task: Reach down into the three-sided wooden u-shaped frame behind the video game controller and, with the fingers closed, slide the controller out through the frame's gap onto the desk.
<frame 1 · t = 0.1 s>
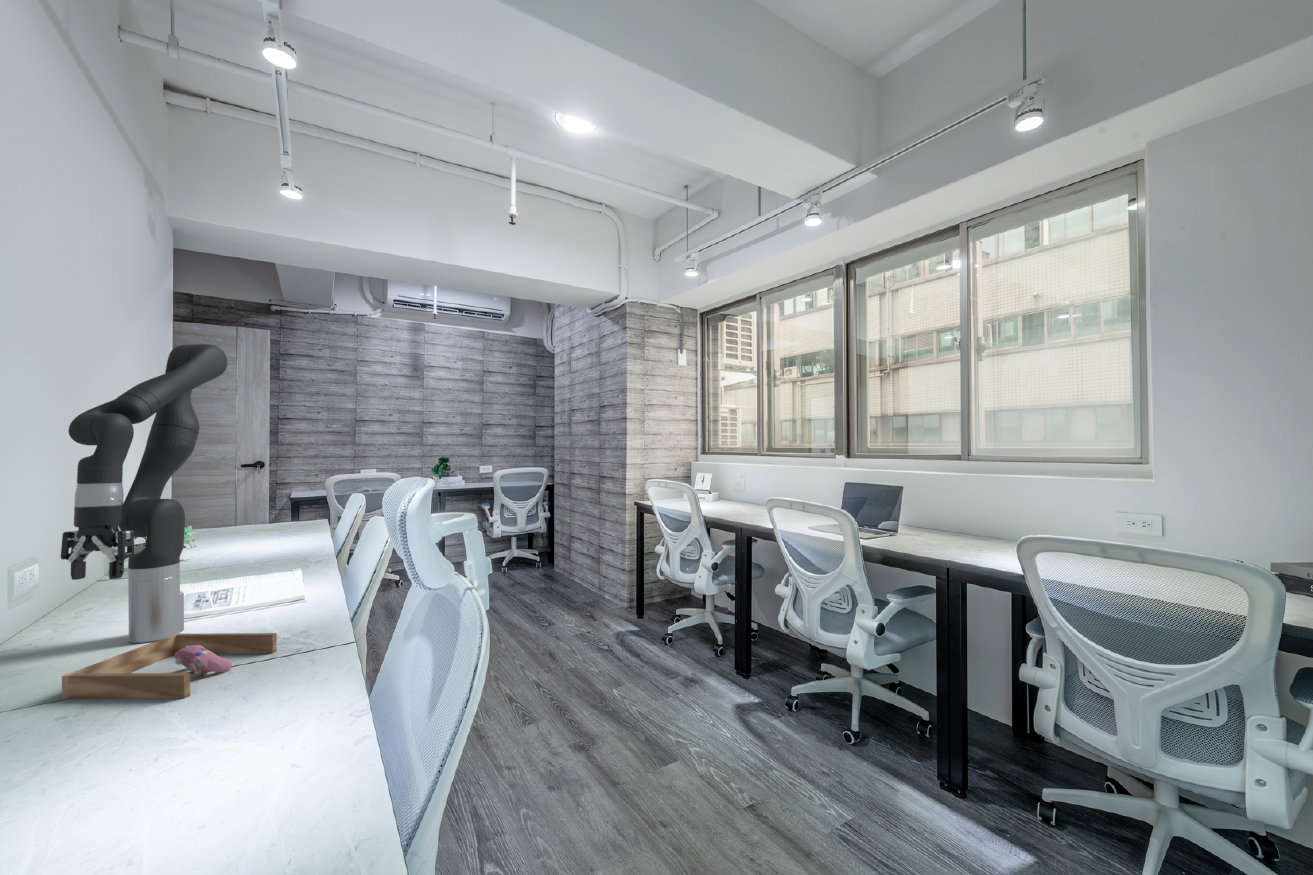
hand: (96, 578, 119), 17 cm above the table, tool pointing down, fingers open, 8 cm apart
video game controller: (202, 673, 110), on the table
wooden u-shaped frame: (179, 672, 110), on the table
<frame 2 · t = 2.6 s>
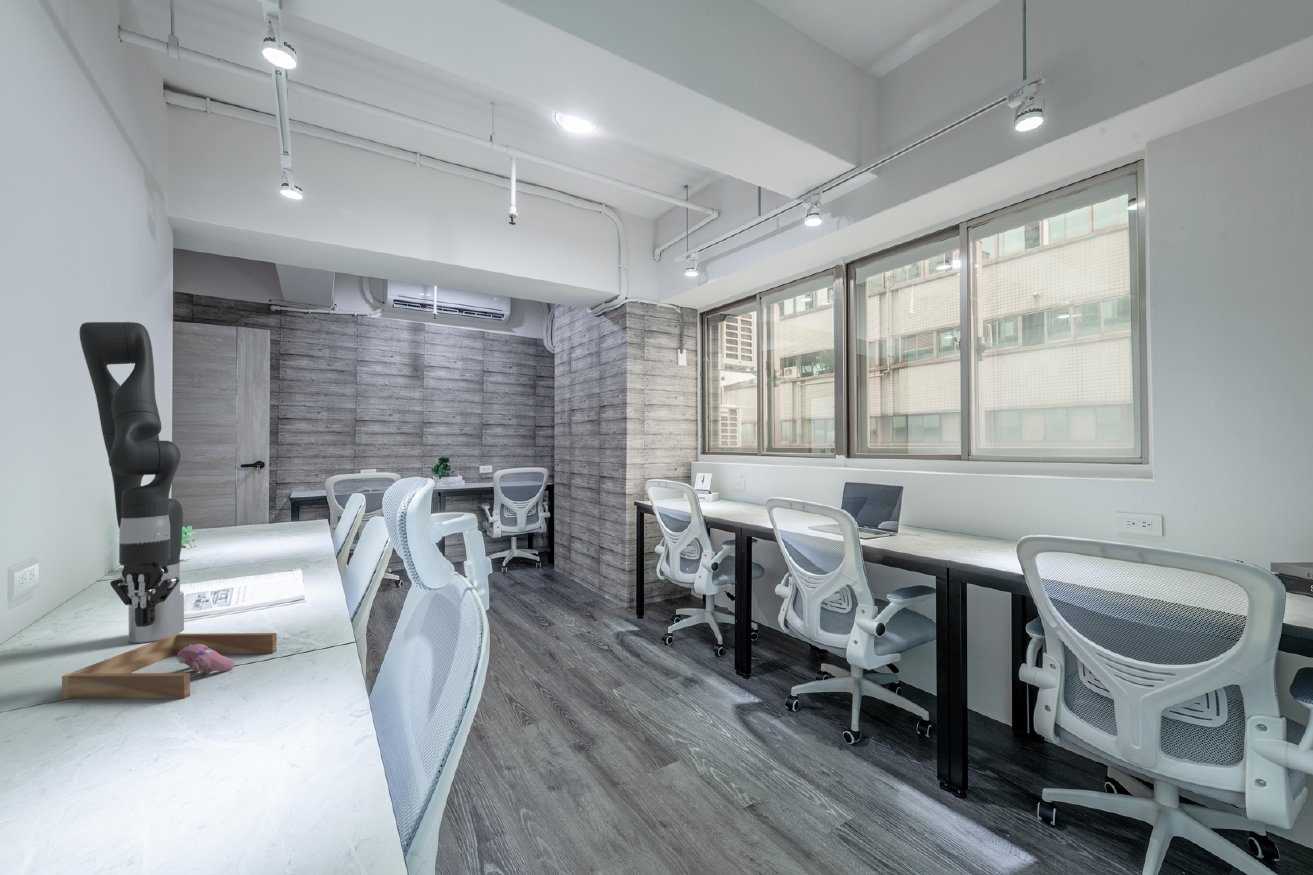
hand: (144, 625, 110), 10 cm above the table, tool pointing down, fingers closed
nothing on the table moved.
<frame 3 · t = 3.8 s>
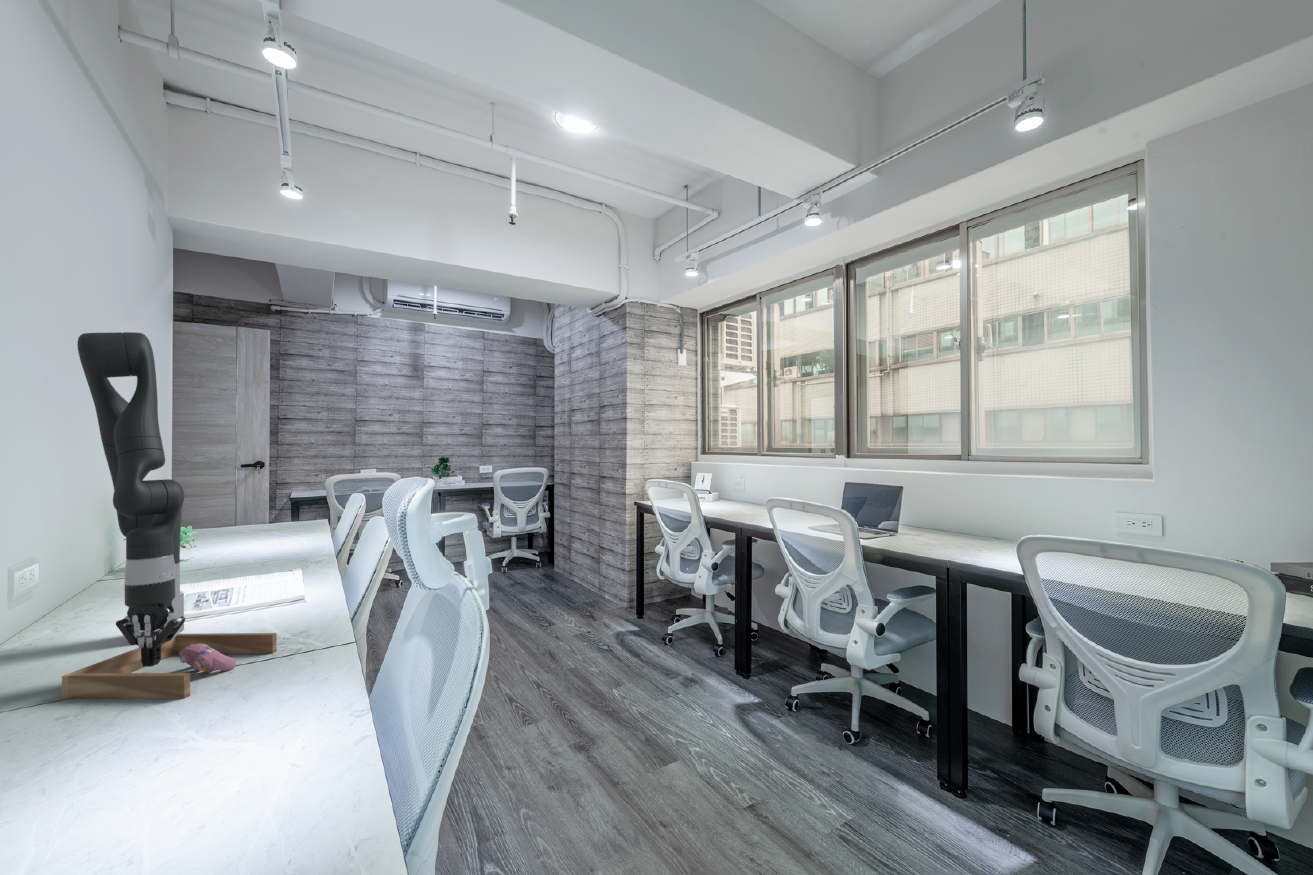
hand: (151, 665, 110), 2 cm above the table, tool pointing down, fingers closed
nothing on the table moved.
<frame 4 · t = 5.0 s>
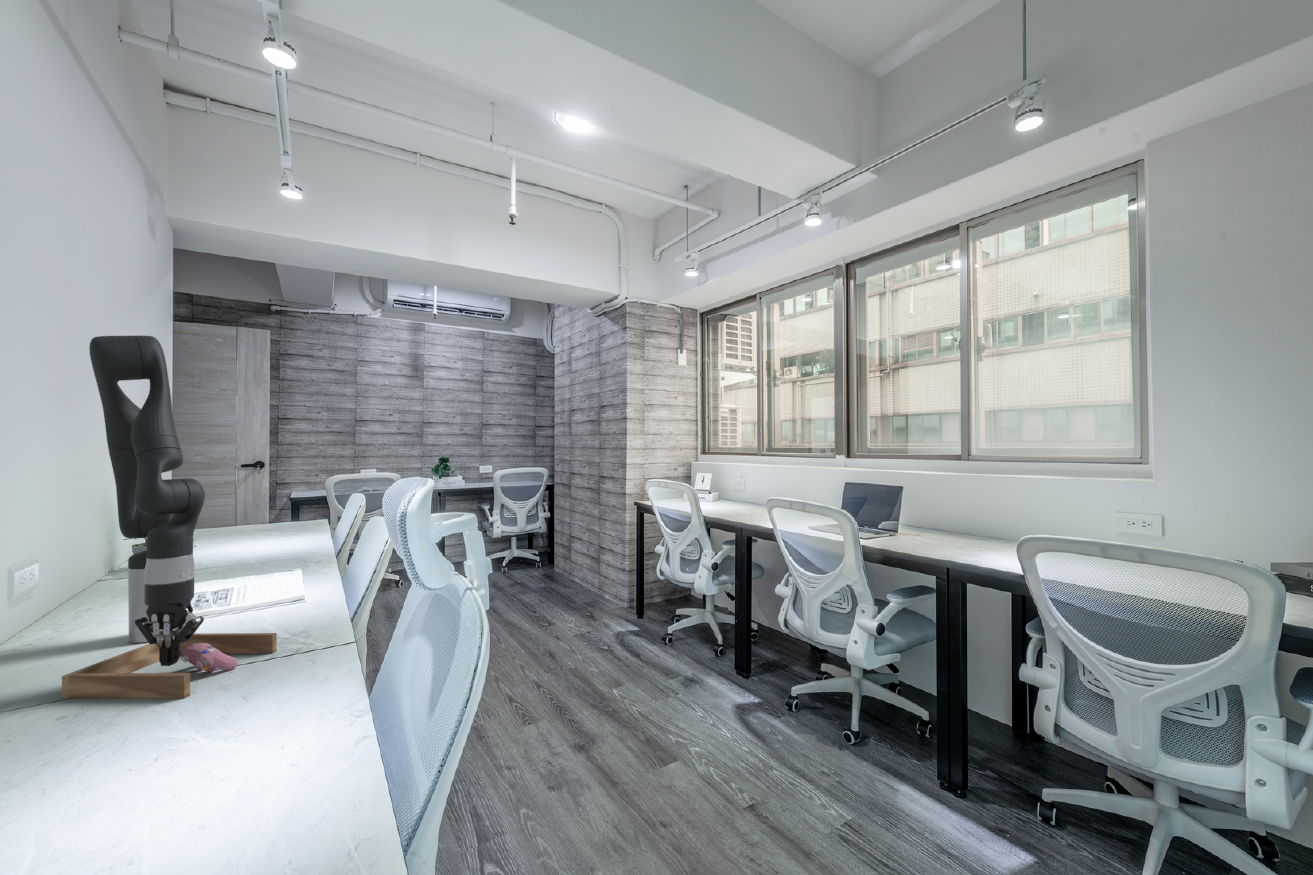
hand: (169, 664, 110), 2 cm above the table, tool pointing down, fingers closed
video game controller: (208, 671, 111), on the table, touching gripper
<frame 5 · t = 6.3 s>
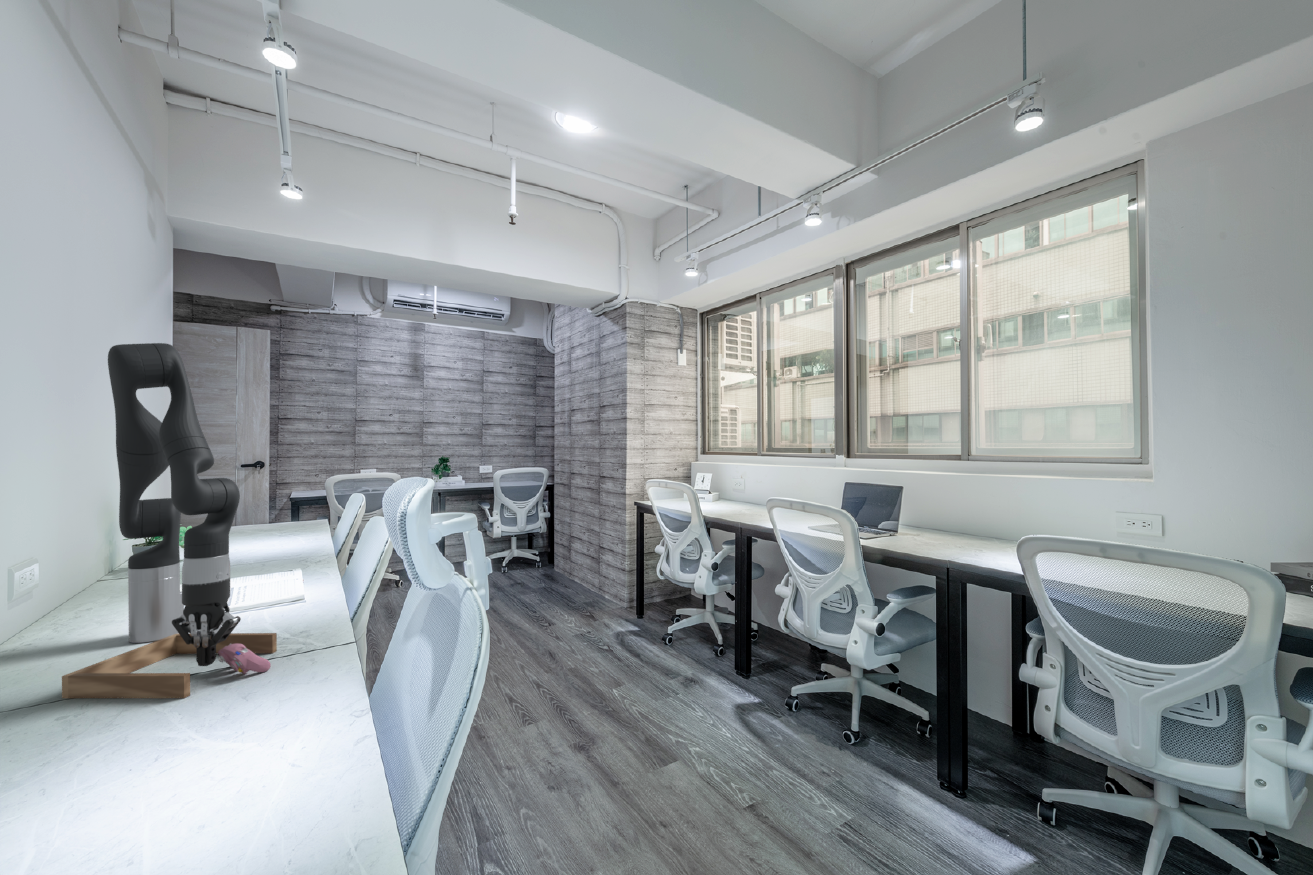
hand: (206, 664, 109), 2 cm above the table, tool pointing down, fingers closed
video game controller: (243, 672, 110), on the table, touching gripper
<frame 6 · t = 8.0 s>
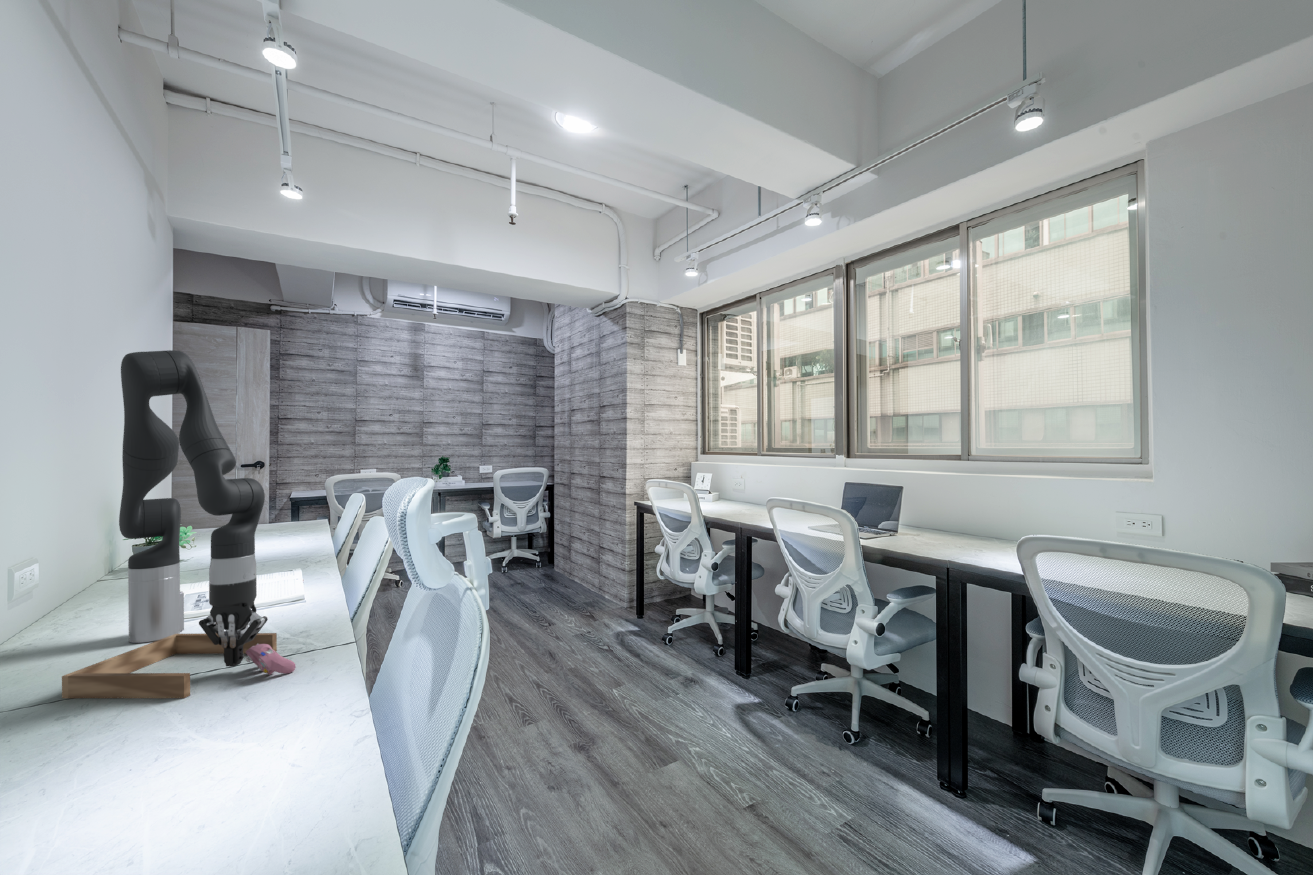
hand: (233, 664, 109), 1 cm above the table, tool pointing down, fingers closed
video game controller: (269, 673, 109), on the table, touching gripper
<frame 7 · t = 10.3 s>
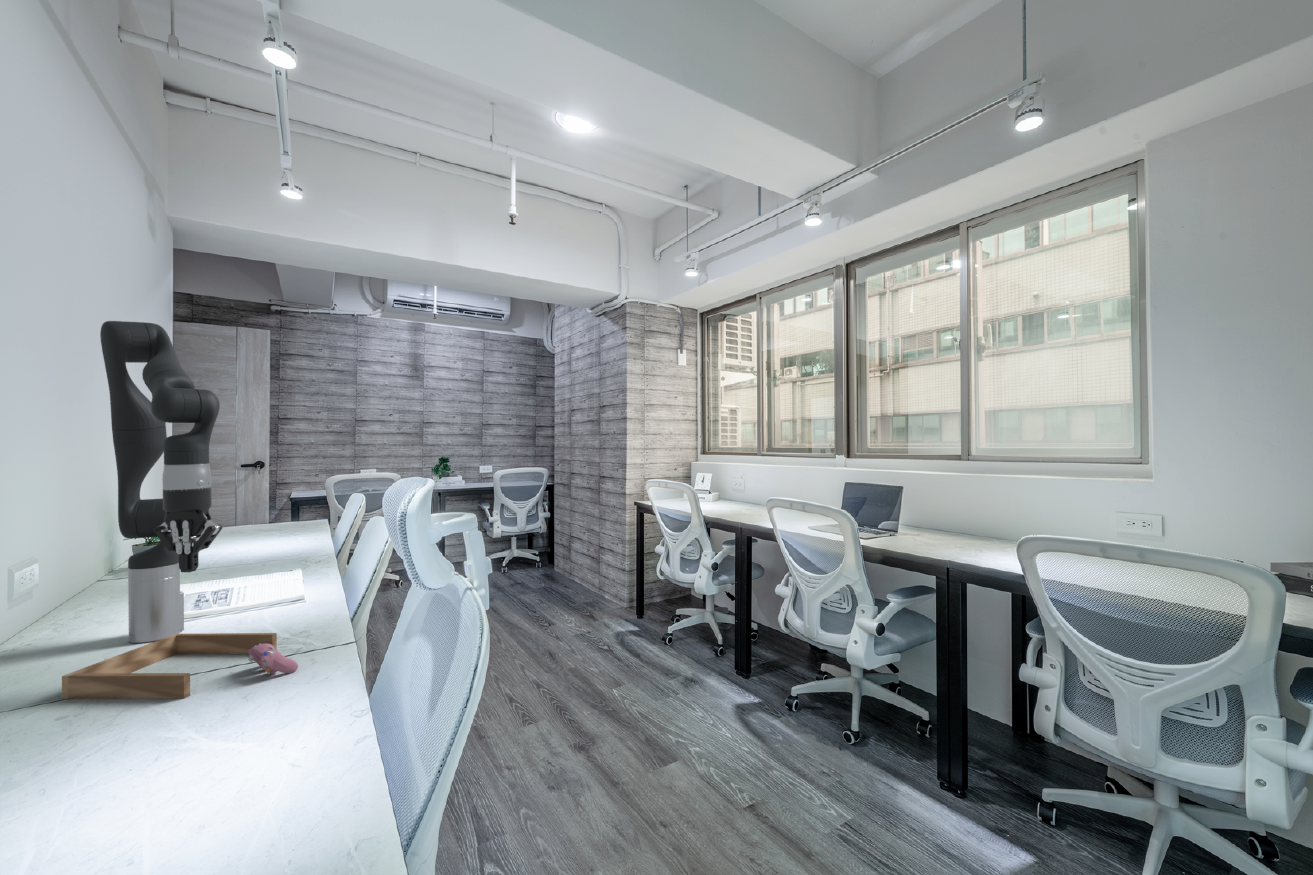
hand: (188, 571, 111), 20 cm above the table, tool pointing down, fingers closed
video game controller: (272, 672, 109), on the table
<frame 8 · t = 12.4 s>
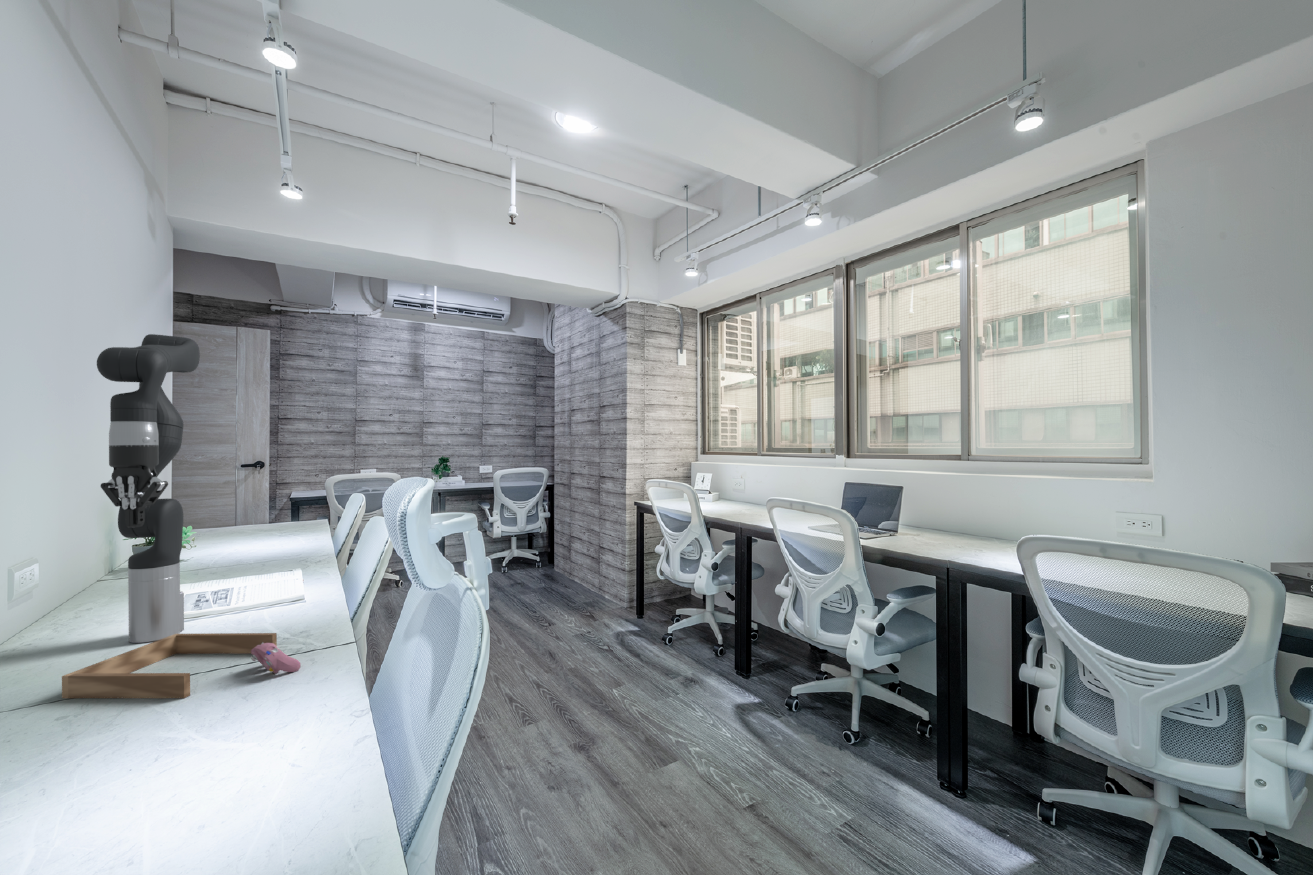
hand: (134, 526, 114), 29 cm above the table, tool pointing down, fingers closed
nothing on the table moved.
at the end: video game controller inside the target area (3.6 cm from its centre), on the table; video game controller moved 14.5 cm from its start; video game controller tilted 0° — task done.
